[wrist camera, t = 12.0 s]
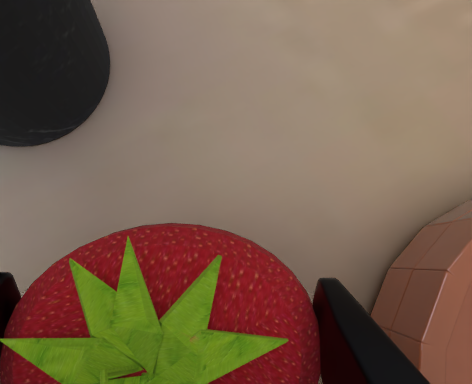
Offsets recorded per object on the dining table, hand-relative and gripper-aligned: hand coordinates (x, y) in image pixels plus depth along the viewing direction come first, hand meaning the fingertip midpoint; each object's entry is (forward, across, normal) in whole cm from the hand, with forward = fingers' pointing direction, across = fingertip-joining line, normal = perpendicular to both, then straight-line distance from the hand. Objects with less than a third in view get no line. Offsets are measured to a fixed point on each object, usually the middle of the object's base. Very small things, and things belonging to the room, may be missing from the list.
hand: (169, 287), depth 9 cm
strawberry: (+3, 0, +5) cm, 6 cm away
